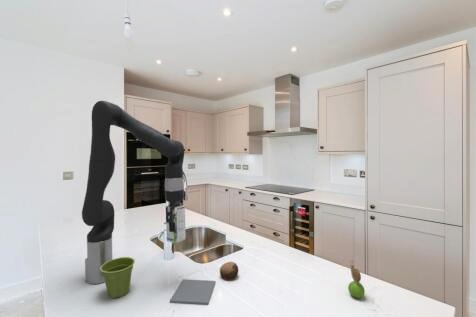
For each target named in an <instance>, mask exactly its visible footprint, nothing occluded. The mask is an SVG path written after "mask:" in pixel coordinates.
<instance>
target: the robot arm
mask: <svg viewBox="0 0 476 317" xmlns="http://www.w3.org/2000/svg"><path fill="white" fill-rule="evenodd" d="M111 126H115V127H117V128H120V129H123V130H125V131H126V132H129V133H130V134H132V136H134V138H136V139H137V140H139V141H140V142H142V143H144V144H146V145H148V146H150V147H152V148H153V149H155V151H157V152H159V153H160V154H161V155H163V156H164V157H167V159H168V162H167V164H165V167H164V178H165V179H164V198H165V201H166V202H168V203H169V204H168V205H169V207H166V206H165V223H166V222H169V231H170V232H174V231H175V217H177V211H176V213H175V214H173V211H174V209H175V207H176V206H179V205H184V199H185V187H184V186H185V185H184V184H185V183H184V174H183V170H184V169H183V164H184V158H185V147H184V144H183V142H181V141H179V140H175V139H171V138H169V137H167V136H165V135H164V134H163V133H162V132H161V131H160V130H157V129H155V128H153V127H152V126H150V125H148V124H146V123H143V122H142V121H139V120H138V119H137V118H135V117H133V116H132V115H130V114H129V113H128V112H126V111H125V110H124V109H123V108H122V107H120V106H119V105H117V104H115V103H113V102H109V101H106V100H99V101H96V102H95V104H94V105H93V107H92V110H91V143H90V155H89V163H88V176H87V182H86V190H85V197H84V200H83V205H82V210H81V218H82V222H83V223H84V224H85V225H86V226H88V227H92V228H91V230H90V231H89V232H88V233H87V234H86V252H87V253H86V256H87V257H86V258H85V259H84V264H85V265H84V268H85V269H84V273H85V274H84V275H85V278H84V279H85V282H87V283H88V284H90V285H97V284H98V285H99V284H103V283H105V279H104V276H103V273H102V271H101V270H100V267H101V266H102V265H103V264H104V263H106V262H108V261H110V260H113V232H114V230H115V207H114V204H113V203H112V202H111V201H109V200H106V199H104V195H105V192H106V189H107V186H108V185H109V183H110V181H111V179H112V178H113V175H114V172H115V165H116V154H115V150H114V147H113V145H112V141H111V138H110V133H111ZM168 216H169V217H168Z"/></svg>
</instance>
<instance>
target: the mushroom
mask: <svg viewBox="0 0 476 317" xmlns="http://www.w3.org/2000/svg"><path fill="white" fill-rule="evenodd" d="M238 274H239V266H238V265H237V263H236V262H234V261H228V262H224V264H222V265H221V266H220V268H219V275H220V276H221V278H223V279H224V280H227V281H232V280H234V279H235V278H237V276H238Z"/></svg>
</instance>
